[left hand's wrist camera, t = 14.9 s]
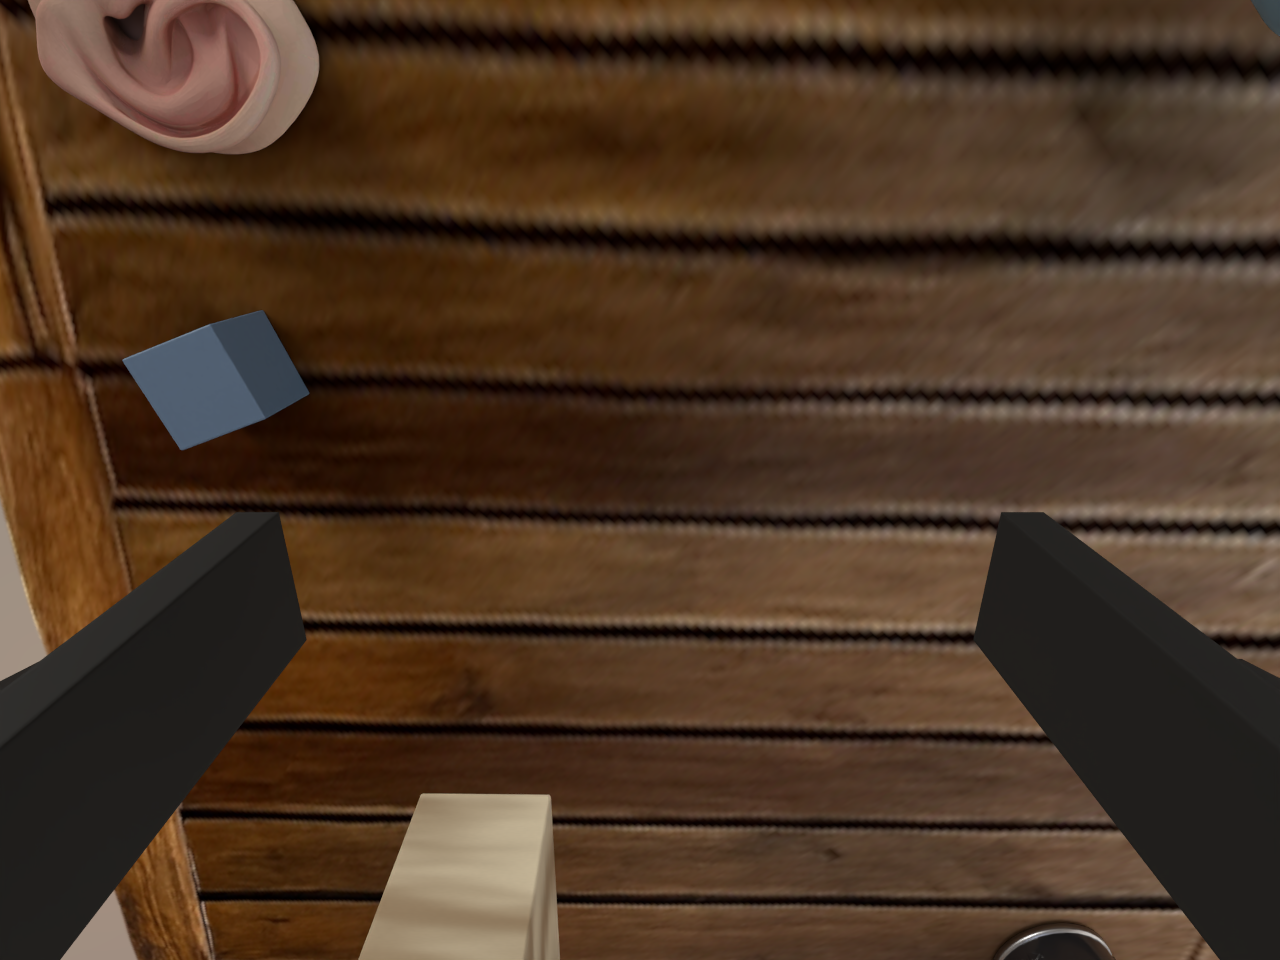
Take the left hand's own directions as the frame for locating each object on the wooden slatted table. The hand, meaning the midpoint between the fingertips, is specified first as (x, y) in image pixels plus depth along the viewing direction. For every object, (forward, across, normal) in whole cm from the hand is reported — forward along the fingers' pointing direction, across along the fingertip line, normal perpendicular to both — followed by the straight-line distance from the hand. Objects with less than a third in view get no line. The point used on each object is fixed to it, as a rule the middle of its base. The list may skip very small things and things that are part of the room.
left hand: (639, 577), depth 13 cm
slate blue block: (+27, +22, +2) cm, 35 cm away
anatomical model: (+27, +22, -15) cm, 38 cm away
